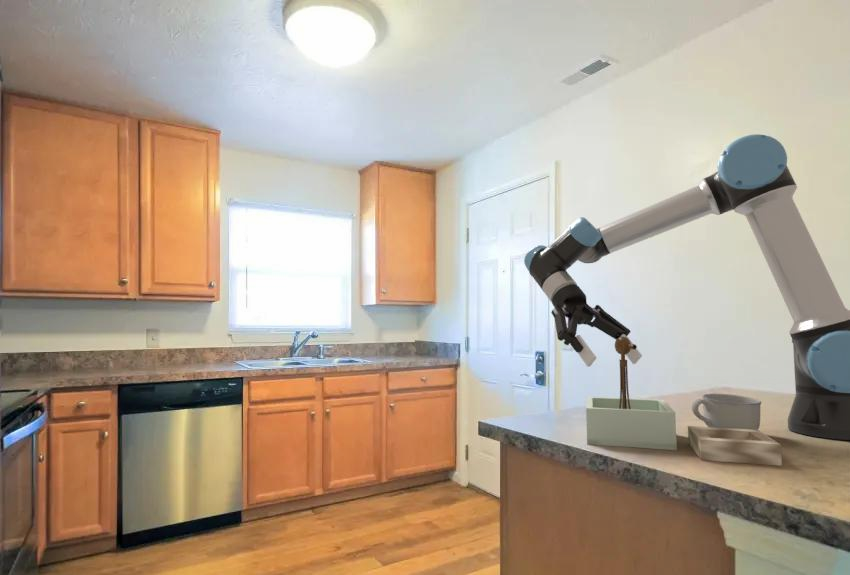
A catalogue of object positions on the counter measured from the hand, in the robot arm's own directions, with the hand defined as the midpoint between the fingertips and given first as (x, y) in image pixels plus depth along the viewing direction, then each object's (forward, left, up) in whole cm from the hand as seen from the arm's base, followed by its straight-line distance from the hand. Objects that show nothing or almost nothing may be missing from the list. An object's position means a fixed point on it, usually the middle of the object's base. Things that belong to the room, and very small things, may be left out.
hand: (615, 361), depth 107 cm
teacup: (-22, -9, -16) cm, 28 cm away
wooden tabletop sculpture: (-2, +1, -15) cm, 15 cm away
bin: (-2, +1, -16) cm, 16 cm away
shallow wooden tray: (-19, +9, -16) cm, 26 cm away
